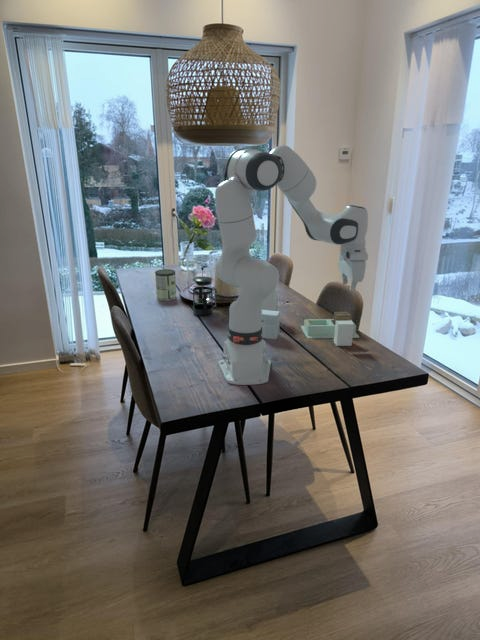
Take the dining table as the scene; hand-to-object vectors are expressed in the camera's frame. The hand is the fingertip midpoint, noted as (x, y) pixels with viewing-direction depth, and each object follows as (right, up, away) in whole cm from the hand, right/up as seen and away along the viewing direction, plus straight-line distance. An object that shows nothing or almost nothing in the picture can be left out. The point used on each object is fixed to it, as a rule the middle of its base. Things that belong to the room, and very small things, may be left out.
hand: (348, 287), depth 165 cm
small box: (-29, -19, +17) cm, 39 cm away
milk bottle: (-28, -13, +34) cm, 46 cm away
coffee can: (-79, -1, +64) cm, 102 cm away
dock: (-3, -18, +20) cm, 27 cm away
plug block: (0, -23, +8) cm, 24 cm away
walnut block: (+2, -17, +20) cm, 27 cm away
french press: (-58, -9, +42) cm, 72 cm away
